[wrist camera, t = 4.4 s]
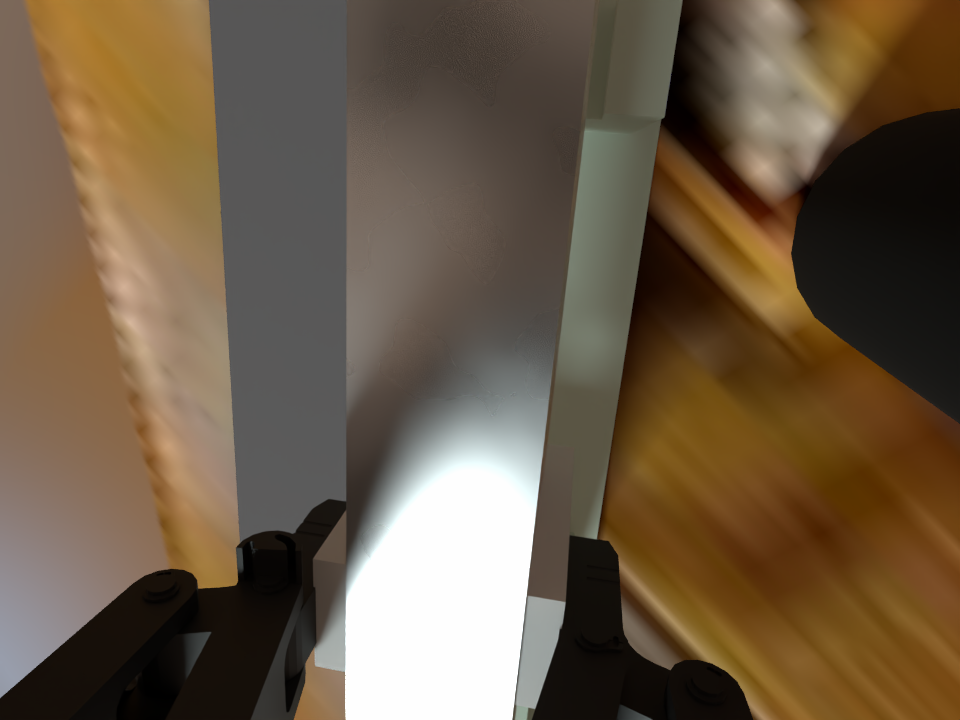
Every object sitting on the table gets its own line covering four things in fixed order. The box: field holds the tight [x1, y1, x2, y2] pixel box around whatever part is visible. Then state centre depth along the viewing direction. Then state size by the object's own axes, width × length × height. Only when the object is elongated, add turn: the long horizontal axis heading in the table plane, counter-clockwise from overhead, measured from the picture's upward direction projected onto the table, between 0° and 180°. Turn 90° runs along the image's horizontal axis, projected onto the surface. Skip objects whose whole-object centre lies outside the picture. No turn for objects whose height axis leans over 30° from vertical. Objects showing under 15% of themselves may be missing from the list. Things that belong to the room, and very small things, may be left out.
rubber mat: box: [209, 0, 347, 543], centre depth 35 cm, size 34×10×1 cm, turn 176°
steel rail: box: [346, 0, 600, 720], centre depth 15 cm, size 30×4×5 cm, turn 176°
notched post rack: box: [515, 0, 683, 720], centre depth 27 cm, size 32×10×15 cm, turn 176°
